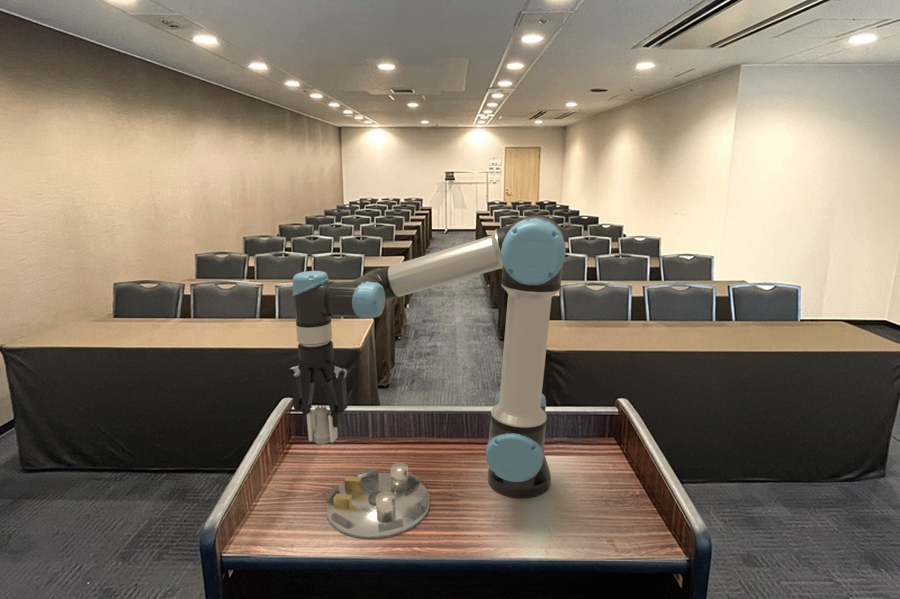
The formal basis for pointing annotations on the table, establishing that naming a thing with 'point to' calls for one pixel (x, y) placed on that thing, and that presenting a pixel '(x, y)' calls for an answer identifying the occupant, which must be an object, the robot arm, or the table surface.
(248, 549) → the table surface
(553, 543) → the table surface
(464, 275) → the robot arm
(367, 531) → the carrier plate
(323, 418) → the rook chess piece
